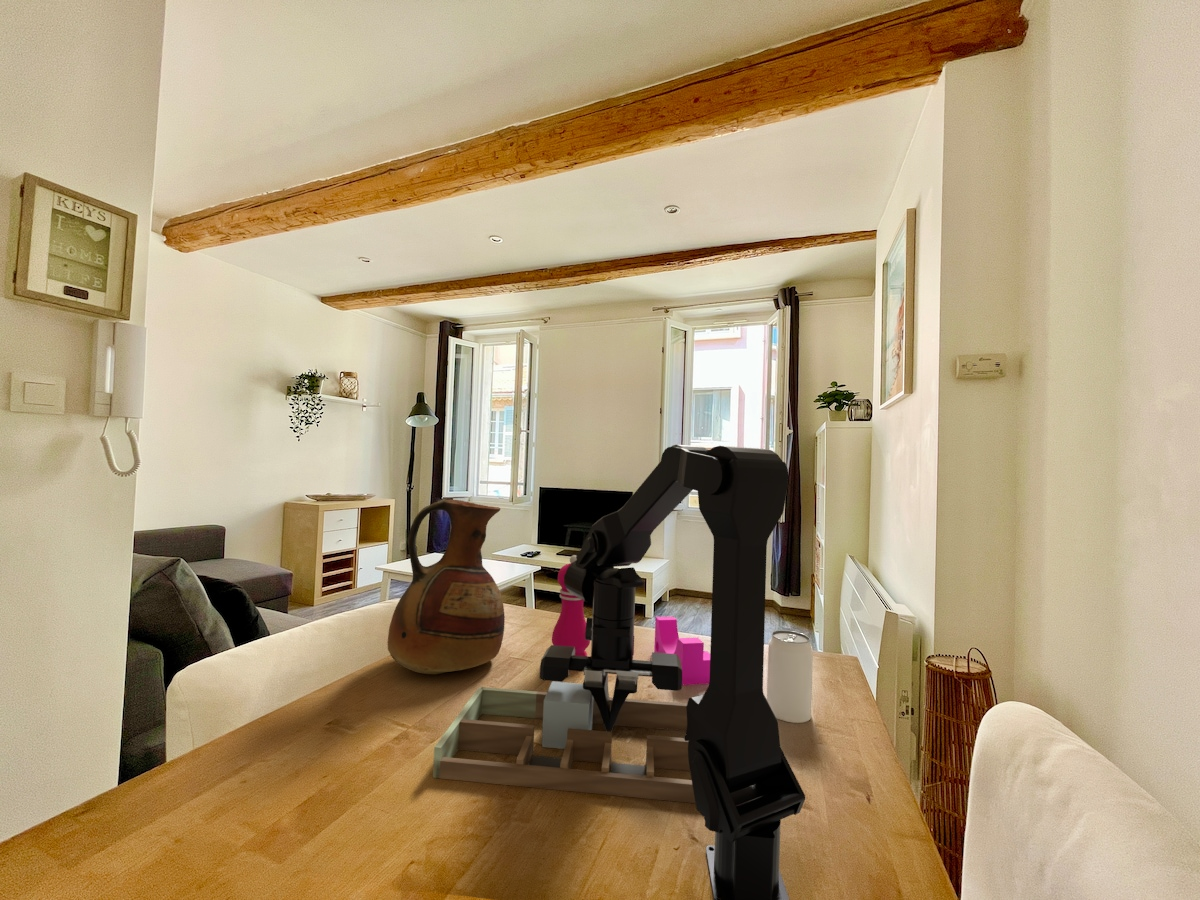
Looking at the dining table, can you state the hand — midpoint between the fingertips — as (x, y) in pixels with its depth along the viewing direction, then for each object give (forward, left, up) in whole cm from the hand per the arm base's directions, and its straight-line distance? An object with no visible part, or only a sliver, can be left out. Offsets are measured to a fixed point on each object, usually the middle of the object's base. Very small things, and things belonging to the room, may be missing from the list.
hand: (609, 730), depth 69 cm
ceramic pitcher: (+21, +31, -2) cm, 37 cm away
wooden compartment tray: (0, +3, -1) cm, 3 cm away
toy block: (+27, -12, -2) cm, 30 cm away
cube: (0, +6, -1) cm, 6 cm away
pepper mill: (+26, +9, -2) cm, 27 cm away
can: (+12, -27, -2) cm, 30 cm away
